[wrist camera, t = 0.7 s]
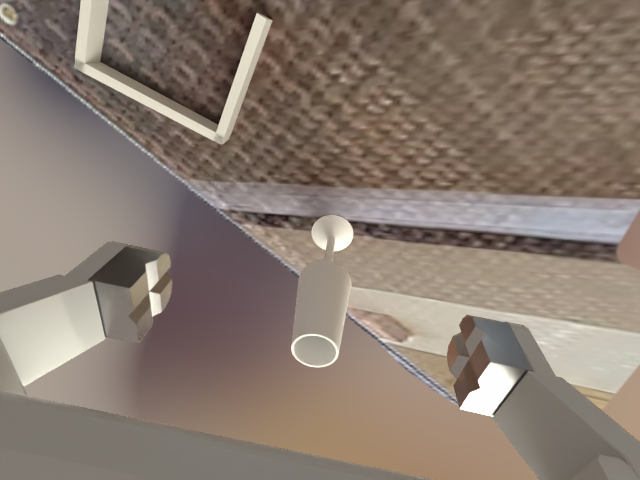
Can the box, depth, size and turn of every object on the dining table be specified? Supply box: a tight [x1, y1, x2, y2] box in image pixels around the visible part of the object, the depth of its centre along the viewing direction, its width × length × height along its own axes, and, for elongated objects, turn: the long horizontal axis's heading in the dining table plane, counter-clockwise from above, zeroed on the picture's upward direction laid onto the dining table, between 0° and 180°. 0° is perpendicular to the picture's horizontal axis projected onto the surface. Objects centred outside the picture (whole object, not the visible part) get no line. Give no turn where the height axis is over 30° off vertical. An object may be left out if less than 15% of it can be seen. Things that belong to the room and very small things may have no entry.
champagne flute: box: [291, 215, 353, 367], centre depth 44 cm, size 7×7×24 cm
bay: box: [74, 0, 272, 145], centre depth 42 cm, size 16×20×3 cm
